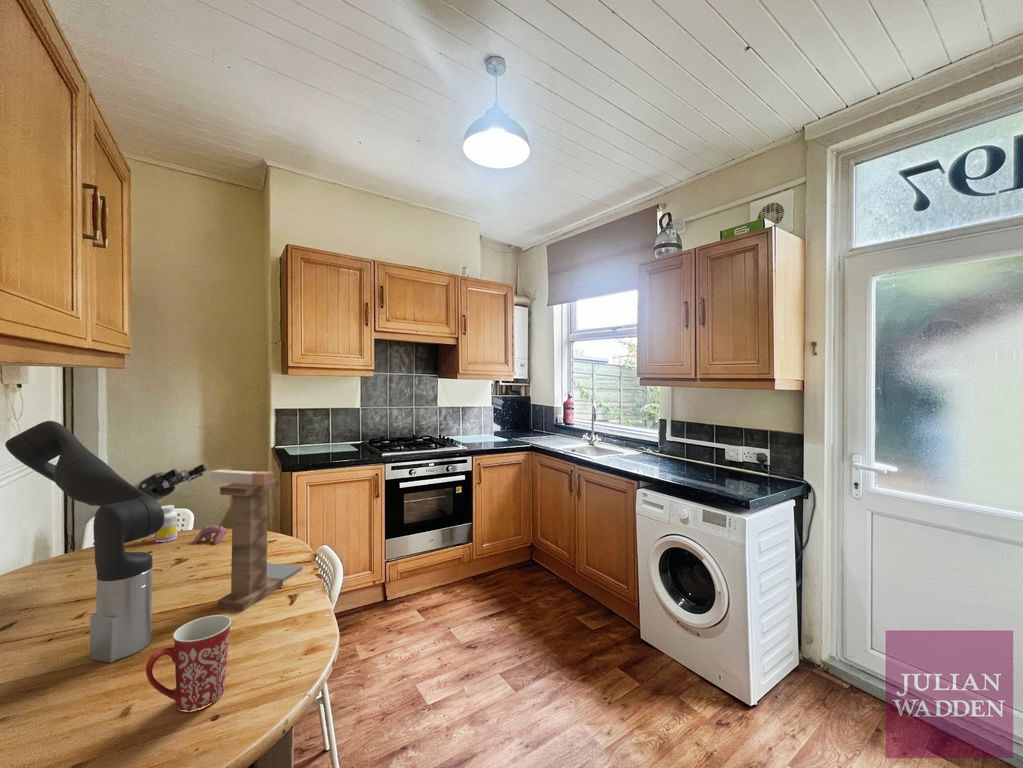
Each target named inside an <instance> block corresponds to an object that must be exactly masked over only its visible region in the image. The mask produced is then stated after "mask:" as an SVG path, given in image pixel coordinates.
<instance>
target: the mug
mask: <svg viewBox="0 0 1023 768" xmlns="http://www.w3.org/2000/svg"><path fill="white" fill-rule="evenodd" d="M231 625H232V619H231V618H230V617H229V616H228V615H223V614H217V615H216V614H215V615H209V616H203V617H200V618H196V619H194V620H191V621H188V622H187V623H184V624H183V625H181V626H180V627H178V628H177V629H176V630H175V631H174V633H173V634H172V640H173V641H174V642H173V643H174V645H173V646H171V647H163V648H162V649H159V650H157V651H155V652H154V653H153V654H152V655H150V657H149V658H148V660H147V663H146V667H145V674H146V678H147V680H148V682H149V684H151V686H152V687H153V689H155V690H156V691H157V692H159V693H161V694H162V695H163V696H166V697H167V698H169V699H172V700H174V701H176V702H175V704H176V709H177V708H179V709H180V710H187V711H191V710H195V709H198V708H201V707H203V706H206V705H208V704H210V703H213V702H214V701H216V700H217V699H218V698H219V697H220V696H221V695H222V694H224V693H223V692H225V688H226V686H225V685H226V674H227V665H228V652H229V641H230V632H231V631H230V629H231ZM163 656H169V657H170V658H171V660H172V663H175V664H174V665H175V686H176V687H175V688H174V689H170V688H167V687H166V686H164V685H163V684H161V683H160V682H159V681H157V679H156V678H155V676H154V674H153V669H154V668H153V667H154V665H155V663H156V662H157V660H158V659H160V658H161V657H163ZM222 696H223V695H222ZM222 696H221V697H222ZM216 702H217V701H216Z"/></svg>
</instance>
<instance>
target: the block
mask: <svg viewBox="0 0 1023 768" xmlns="http://www.w3.org/2000/svg"><path fill="white" fill-rule="evenodd" d="M273 479H274V471H267V470H266V471H262V470H261V471H251V470H234V469H233V470H232V469H218V470H213V471H210V483H219V484H220V483H221V484H248V485H262V486H265V485H268V484H272V483H273Z"/></svg>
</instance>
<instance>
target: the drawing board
mask: <svg viewBox="0 0 1023 768" xmlns="http://www.w3.org/2000/svg"><path fill="white" fill-rule="evenodd" d="M303 569H304V567H303V566H300V565H292V564H284V563H274V562H267V578H275V579H283V582H285V581H286V580H288V579H289V578H292V577H293V576H294V575H296V574H298V573H300V572H302V571H303Z"/></svg>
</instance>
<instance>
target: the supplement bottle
mask: <svg viewBox="0 0 1023 768" xmlns="http://www.w3.org/2000/svg"><path fill="white" fill-rule="evenodd" d="M160 506H161V505H160ZM161 508H162V510H163V512H164V517H165V520H164V524H163V526H162V528H161V529H160V530H159V531H158V532H156V533H155V534H154V541H155V542H156V543H158V542H162V543H167V541H168V542H172V541H175V539H177V538H178V513H177V512H176V511H174V510H175V505H174V504H167V505H162V506H161ZM171 540H172V541H171Z"/></svg>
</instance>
